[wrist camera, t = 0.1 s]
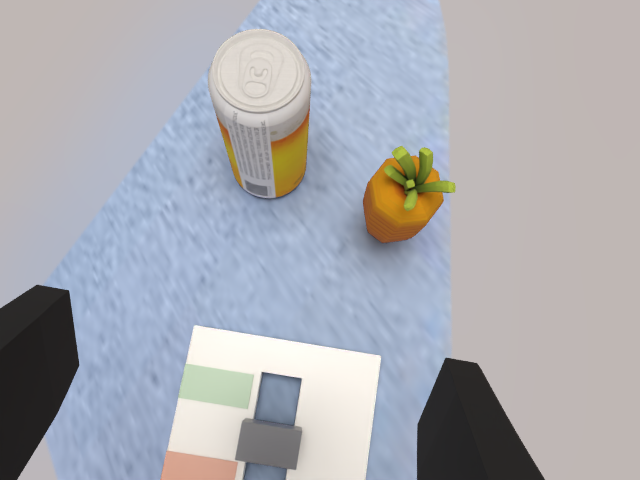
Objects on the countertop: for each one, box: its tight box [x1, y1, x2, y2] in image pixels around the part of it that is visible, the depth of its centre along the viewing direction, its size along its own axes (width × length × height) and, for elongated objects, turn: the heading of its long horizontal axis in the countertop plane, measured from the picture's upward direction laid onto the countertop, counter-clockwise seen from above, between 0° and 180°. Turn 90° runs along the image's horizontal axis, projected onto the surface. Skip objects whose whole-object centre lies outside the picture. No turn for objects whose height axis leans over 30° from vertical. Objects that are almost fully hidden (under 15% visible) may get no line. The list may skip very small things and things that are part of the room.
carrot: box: [363, 146, 455, 243], centre depth 37 cm, size 5×5×15 cm
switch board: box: [160, 325, 381, 480], centre depth 40 cm, size 12×14×2 cm
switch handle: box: [235, 418, 302, 470], centre depth 38 cm, size 2×4×5 cm, turn 81°
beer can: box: [208, 29, 311, 198], centre depth 38 cm, size 6×6×15 cm
